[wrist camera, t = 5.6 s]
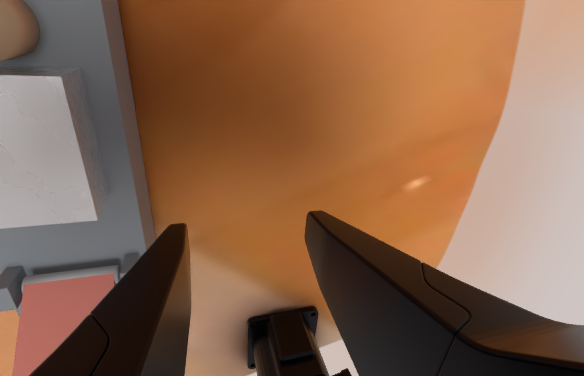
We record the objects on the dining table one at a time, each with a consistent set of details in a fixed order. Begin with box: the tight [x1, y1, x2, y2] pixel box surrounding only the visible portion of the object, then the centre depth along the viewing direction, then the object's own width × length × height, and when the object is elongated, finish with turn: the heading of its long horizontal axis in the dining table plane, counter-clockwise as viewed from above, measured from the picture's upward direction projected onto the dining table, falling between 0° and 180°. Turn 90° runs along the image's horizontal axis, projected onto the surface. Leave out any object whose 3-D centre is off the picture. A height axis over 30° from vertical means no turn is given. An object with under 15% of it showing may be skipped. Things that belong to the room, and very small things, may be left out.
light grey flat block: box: [0, 65, 110, 229], centre depth 13 cm, size 6×5×2 cm
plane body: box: [0, 0, 156, 317], centre depth 16 cm, size 17×7×6 cm, turn 176°
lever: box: [12, 265, 121, 376], centre depth 16 cm, size 1×4×6 cm
